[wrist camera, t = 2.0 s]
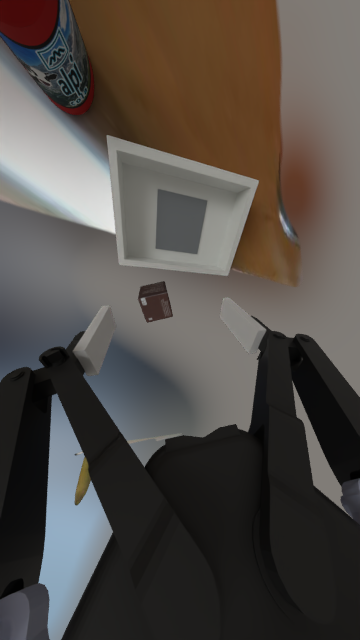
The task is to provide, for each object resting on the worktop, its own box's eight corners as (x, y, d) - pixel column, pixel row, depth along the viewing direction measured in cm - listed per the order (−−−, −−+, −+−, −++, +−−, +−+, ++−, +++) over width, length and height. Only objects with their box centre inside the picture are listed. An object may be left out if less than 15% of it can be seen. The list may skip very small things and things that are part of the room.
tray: (123, 259, 28) (118, 264, 24) (115, 153, 20) (106, 134, 16) (218, 270, 33) (227, 276, 29) (241, 188, 25) (259, 180, 21)
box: (169, 302, 36) (173, 317, 30) (147, 307, 36) (146, 323, 30) (164, 280, 33) (167, 292, 27) (139, 285, 32) (137, 298, 26)
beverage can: (73, 134, 19) (-10, 33, 9) (14, 49, 15) (-232, -277, 5) (108, 94, 18) (57, -72, 8) (55, -9, 14) (-168, -562, 4)
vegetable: (88, 446, 77) (71, 504, 61) (100, 445, 80) (87, 501, 63) (85, 450, 80) (69, 507, 63) (97, 449, 82) (84, 504, 66)
